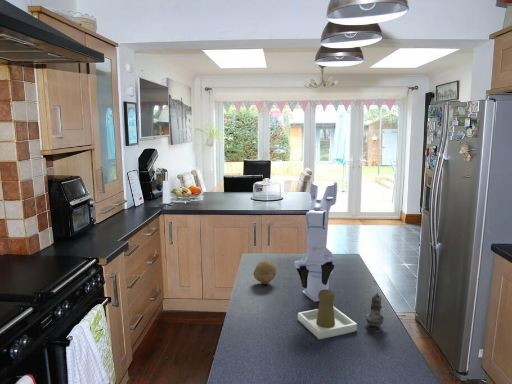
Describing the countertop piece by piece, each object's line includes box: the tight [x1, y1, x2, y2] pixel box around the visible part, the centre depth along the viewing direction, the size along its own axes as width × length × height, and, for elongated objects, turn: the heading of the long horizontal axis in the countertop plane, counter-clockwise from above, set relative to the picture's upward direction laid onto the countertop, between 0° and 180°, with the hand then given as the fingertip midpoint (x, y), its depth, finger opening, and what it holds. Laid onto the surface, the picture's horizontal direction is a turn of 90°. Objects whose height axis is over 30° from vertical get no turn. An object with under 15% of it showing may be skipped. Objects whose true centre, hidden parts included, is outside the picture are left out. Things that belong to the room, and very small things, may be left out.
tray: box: [297, 305, 358, 340], centre depth 129 cm, size 14×14×2 cm
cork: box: [316, 289, 336, 328], centre depth 128 cm, size 6×6×11 cm
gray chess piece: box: [364, 292, 385, 333], centre depth 126 cm, size 6×6×12 cm
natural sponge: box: [252, 259, 277, 285], centre depth 161 cm, size 9×9×10 cm
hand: (314, 285), depth 134 cm, fingers open, 7 cm apart
